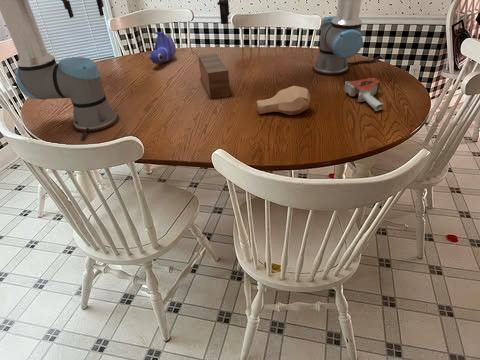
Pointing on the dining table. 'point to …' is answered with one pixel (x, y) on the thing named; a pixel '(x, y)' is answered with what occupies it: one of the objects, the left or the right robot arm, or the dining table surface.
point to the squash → (286, 101)
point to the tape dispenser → (365, 91)
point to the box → (214, 75)
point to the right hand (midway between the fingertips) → (225, 19)
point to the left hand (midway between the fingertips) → (87, 16)
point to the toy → (162, 49)
